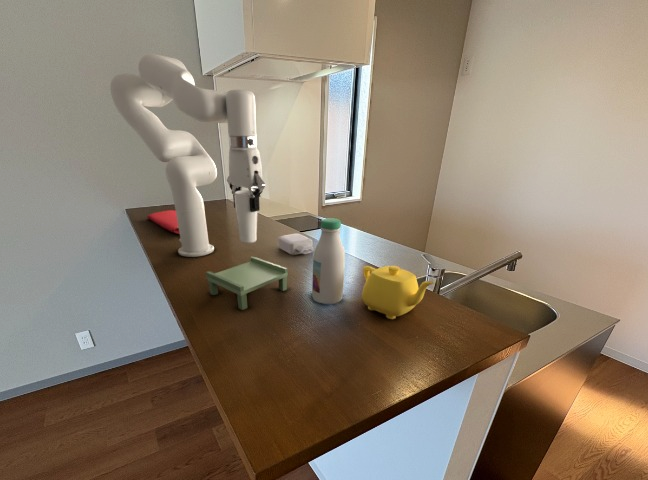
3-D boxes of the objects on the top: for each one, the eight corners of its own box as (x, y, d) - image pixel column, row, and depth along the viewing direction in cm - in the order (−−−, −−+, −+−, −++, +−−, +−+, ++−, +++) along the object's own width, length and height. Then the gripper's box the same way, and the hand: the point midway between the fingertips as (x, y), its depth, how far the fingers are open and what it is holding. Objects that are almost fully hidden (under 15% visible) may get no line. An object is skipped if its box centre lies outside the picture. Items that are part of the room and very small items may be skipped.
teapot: (438, 316, 73) (448, 273, 68) (411, 334, 66) (420, 287, 62) (373, 290, 85) (378, 252, 80) (346, 303, 79) (349, 262, 74)
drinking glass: (255, 245, 97) (253, 194, 90) (234, 243, 98) (230, 193, 91) (261, 238, 103) (259, 190, 96) (241, 237, 104) (238, 189, 97)
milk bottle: (344, 293, 84) (350, 217, 75) (339, 306, 77) (344, 225, 68) (316, 289, 86) (318, 215, 77) (308, 302, 80) (310, 222, 70)
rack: (208, 293, 85) (205, 272, 82) (254, 276, 95) (252, 256, 92) (242, 310, 76) (240, 287, 73) (288, 289, 87) (287, 268, 84)
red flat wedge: (177, 214, 171) (176, 207, 169) (208, 230, 141) (207, 222, 140) (147, 219, 163) (145, 211, 161) (173, 237, 133) (171, 228, 132)
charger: (299, 261, 106) (278, 248, 118) (322, 256, 110) (299, 244, 121) (299, 247, 104) (277, 236, 115) (322, 242, 108) (299, 232, 119)
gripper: (274, 144, 85) (275, 211, 93) (234, 142, 95) (238, 203, 104) (253, 144, 80) (256, 216, 88) (213, 143, 91) (219, 206, 99)
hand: (246, 208), depth 96 cm, fingers closed on drinking glass, 6 cm apart
